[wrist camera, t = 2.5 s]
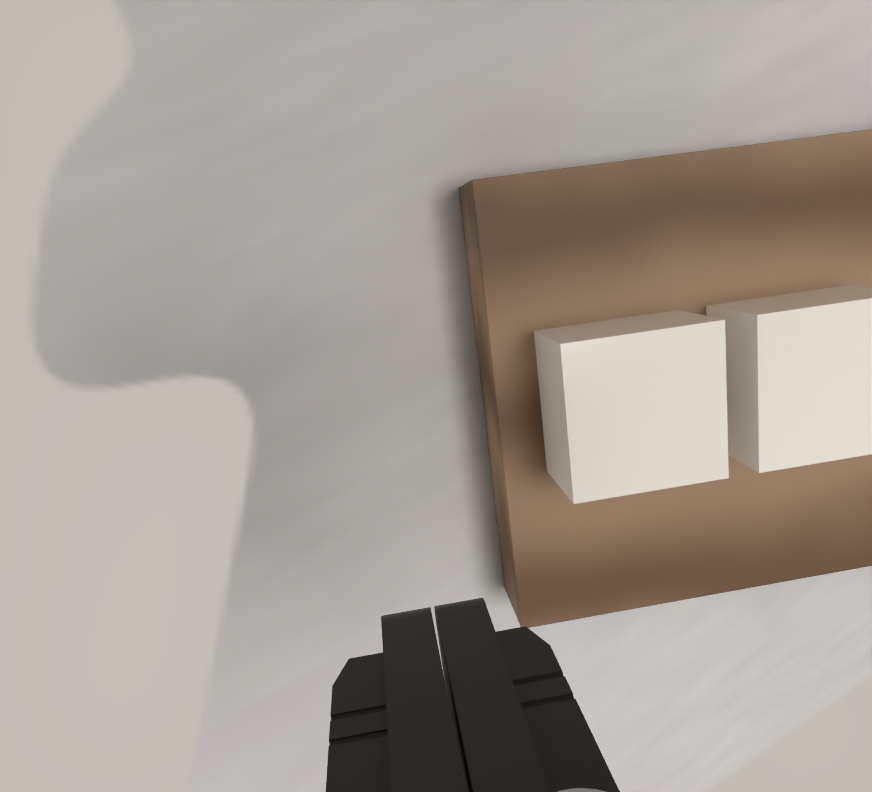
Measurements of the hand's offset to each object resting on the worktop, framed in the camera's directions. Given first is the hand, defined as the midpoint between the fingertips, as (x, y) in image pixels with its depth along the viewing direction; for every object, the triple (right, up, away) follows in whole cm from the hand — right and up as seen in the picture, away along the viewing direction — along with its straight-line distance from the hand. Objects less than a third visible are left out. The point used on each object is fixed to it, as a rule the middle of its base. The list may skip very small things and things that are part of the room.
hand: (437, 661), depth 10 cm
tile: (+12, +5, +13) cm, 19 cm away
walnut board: (+10, +5, +16) cm, 20 cm away
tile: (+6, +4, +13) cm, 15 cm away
